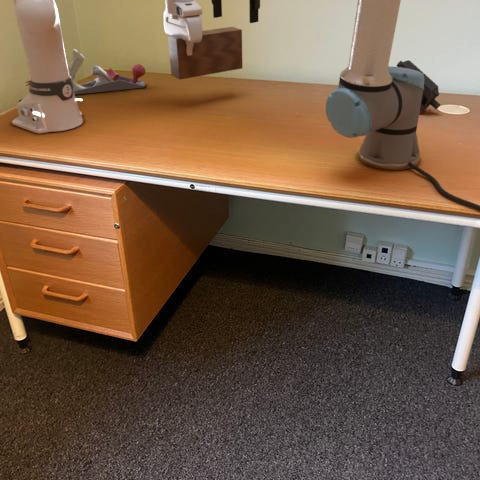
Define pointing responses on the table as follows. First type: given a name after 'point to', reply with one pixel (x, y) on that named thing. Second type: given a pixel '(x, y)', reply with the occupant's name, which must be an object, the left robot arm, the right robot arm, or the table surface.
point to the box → (207, 53)
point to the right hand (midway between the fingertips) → (235, 19)
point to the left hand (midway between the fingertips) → (183, 52)
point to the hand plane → (104, 78)
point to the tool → (429, 87)
